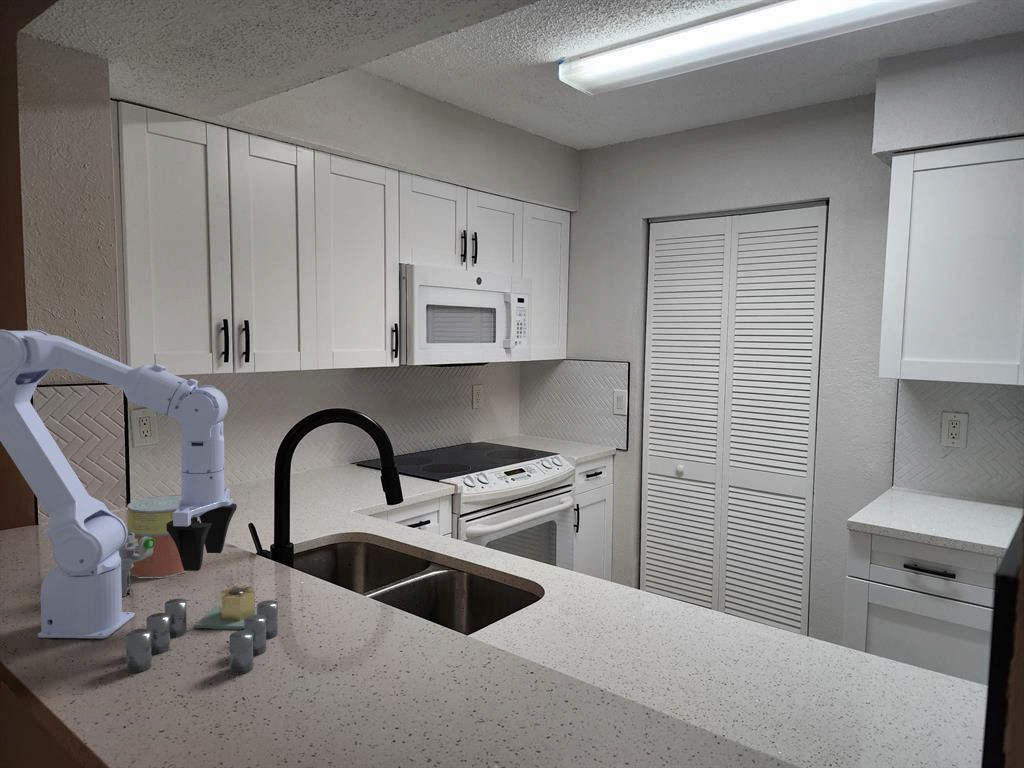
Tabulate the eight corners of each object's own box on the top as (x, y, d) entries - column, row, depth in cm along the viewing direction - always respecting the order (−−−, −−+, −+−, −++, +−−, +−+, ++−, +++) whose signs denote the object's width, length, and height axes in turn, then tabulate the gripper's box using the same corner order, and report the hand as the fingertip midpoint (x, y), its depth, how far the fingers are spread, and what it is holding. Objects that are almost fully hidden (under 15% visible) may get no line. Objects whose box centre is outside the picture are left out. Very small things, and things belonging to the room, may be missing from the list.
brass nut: (212, 620, 100) (212, 597, 100) (225, 607, 105) (225, 585, 104) (249, 621, 100) (249, 597, 100) (259, 608, 105) (259, 586, 105)
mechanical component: (145, 601, 107) (144, 540, 107) (90, 595, 109) (89, 534, 109) (158, 594, 110) (158, 534, 110) (104, 588, 112) (103, 529, 112)
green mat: (194, 628, 98) (194, 625, 98) (214, 609, 105) (214, 606, 105) (257, 629, 99) (257, 626, 99) (272, 610, 106) (272, 607, 106)
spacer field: (122, 672, 85) (121, 638, 85) (170, 628, 98) (170, 598, 98) (248, 674, 86) (248, 640, 86) (280, 630, 99) (280, 600, 98)
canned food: (210, 565, 125) (210, 501, 124) (150, 583, 115) (149, 514, 114) (175, 553, 131) (175, 492, 130) (115, 569, 121) (114, 503, 120)
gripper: (209, 481, 92) (210, 579, 93) (248, 461, 106) (249, 546, 107) (157, 480, 91) (158, 578, 92) (203, 460, 106) (203, 545, 107)
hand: (203, 561), depth 100 cm, fingers open, 7 cm apart
